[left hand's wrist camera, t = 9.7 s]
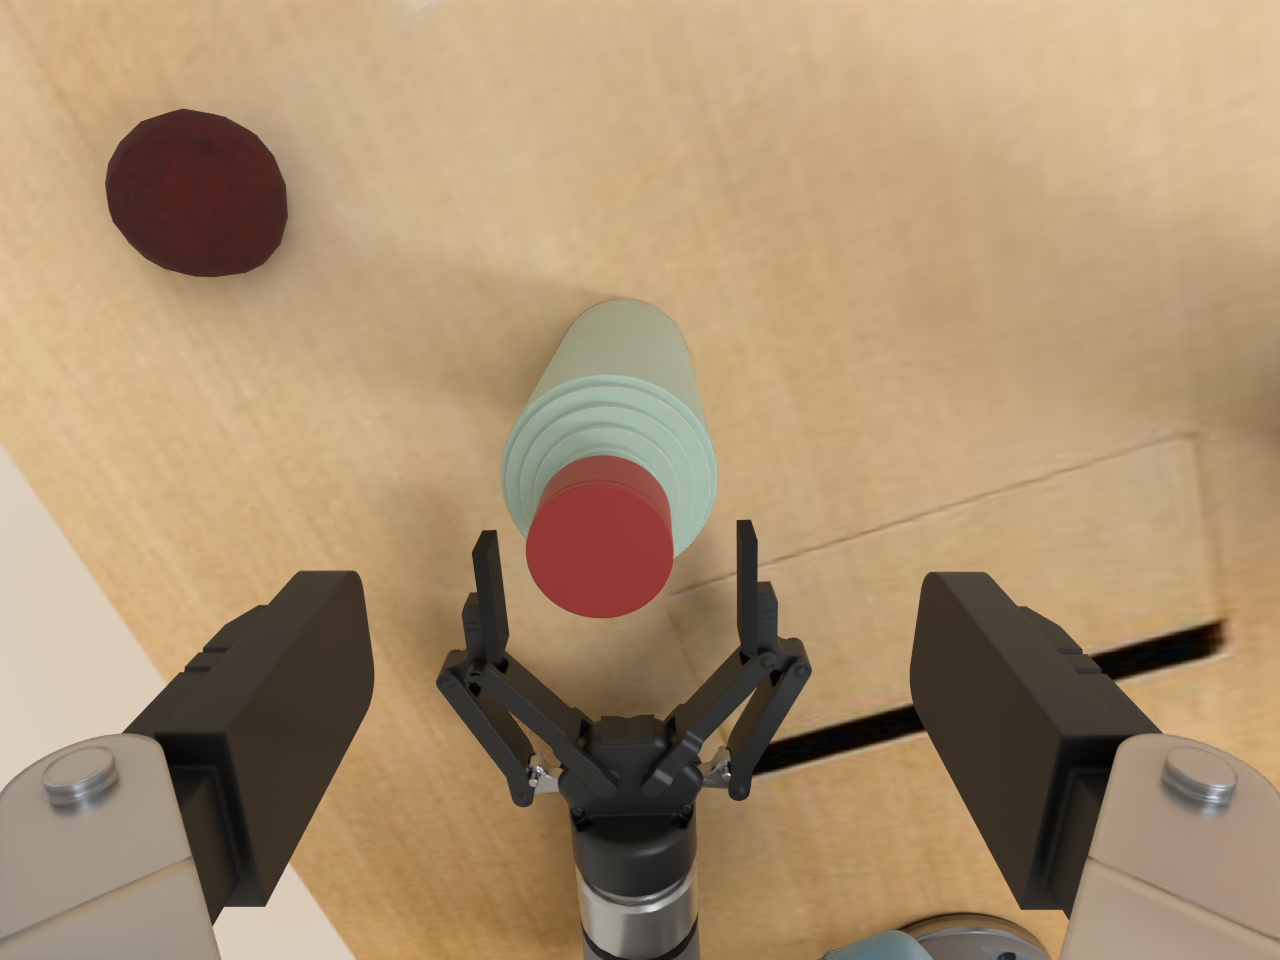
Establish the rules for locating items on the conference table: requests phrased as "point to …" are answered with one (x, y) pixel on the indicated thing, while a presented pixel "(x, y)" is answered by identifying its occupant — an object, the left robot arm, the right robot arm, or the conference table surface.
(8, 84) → the conference table surface
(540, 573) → the cap
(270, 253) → the potato
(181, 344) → the conference table surface
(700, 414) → the bottle
